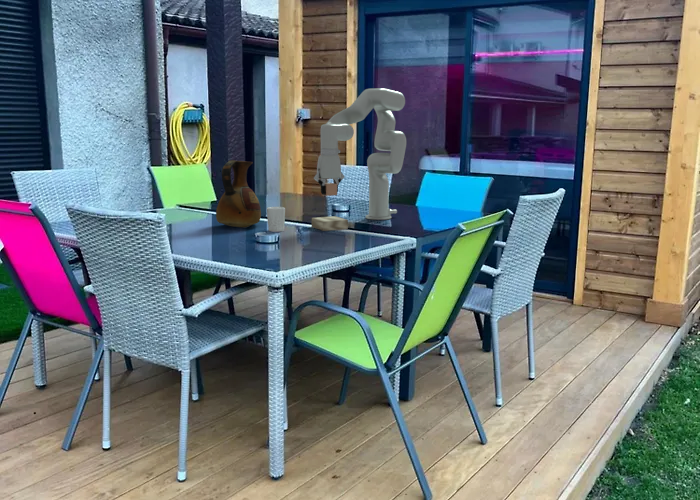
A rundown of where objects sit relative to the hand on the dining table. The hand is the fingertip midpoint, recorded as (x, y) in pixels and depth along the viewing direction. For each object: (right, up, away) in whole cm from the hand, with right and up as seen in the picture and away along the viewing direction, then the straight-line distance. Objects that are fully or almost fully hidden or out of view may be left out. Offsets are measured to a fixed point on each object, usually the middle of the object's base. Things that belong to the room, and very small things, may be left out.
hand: (329, 193), depth 299 cm
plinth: (0, -15, +3) cm, 15 cm away
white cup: (-23, -17, -5) cm, 29 cm away
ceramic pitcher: (-41, -15, +4) cm, 44 cm away
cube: (0, -1, 0) cm, 1 cm away
